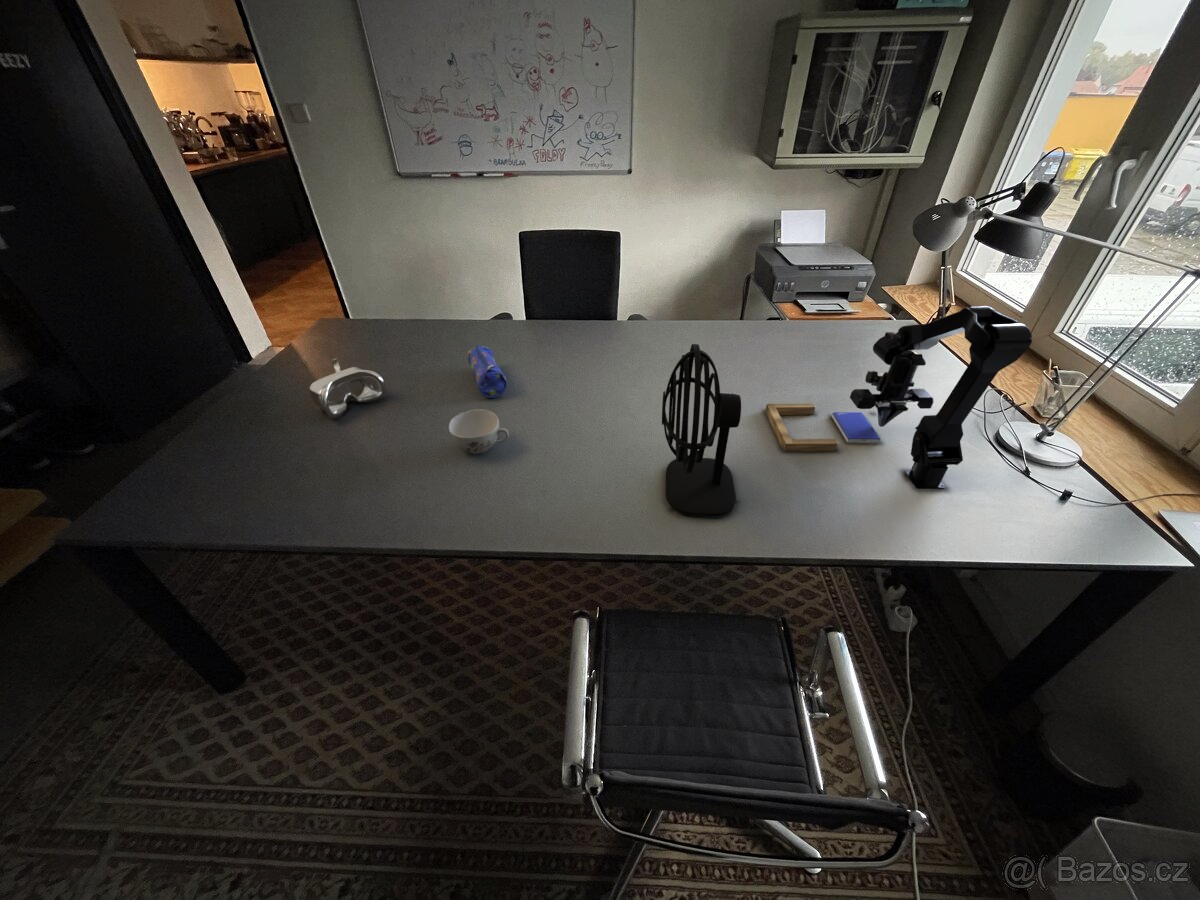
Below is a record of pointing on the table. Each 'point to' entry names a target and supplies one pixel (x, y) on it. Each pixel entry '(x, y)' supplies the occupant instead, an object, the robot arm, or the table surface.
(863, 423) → the hard drive
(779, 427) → the dock
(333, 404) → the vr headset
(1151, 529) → the table surface
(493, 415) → the teacup
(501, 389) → the pencil case
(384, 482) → the table surface
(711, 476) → the desk fan
